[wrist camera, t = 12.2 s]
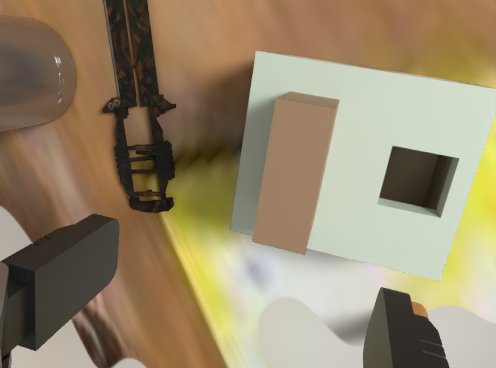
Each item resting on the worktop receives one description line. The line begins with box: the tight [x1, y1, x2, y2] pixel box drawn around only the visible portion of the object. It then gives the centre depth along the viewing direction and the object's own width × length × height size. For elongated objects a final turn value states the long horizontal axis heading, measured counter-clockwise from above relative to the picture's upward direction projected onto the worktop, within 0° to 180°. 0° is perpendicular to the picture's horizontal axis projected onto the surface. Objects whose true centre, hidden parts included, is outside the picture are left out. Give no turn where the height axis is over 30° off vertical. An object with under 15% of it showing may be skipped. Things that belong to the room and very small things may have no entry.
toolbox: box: [262, 51, 491, 210], centre depth 30 cm, size 14×12×6 cm
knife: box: [103, 0, 176, 213], centre depth 35 cm, size 25×6×1 cm, turn 179°
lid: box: [230, 51, 496, 281], centre depth 25 cm, size 14×12×6 cm
